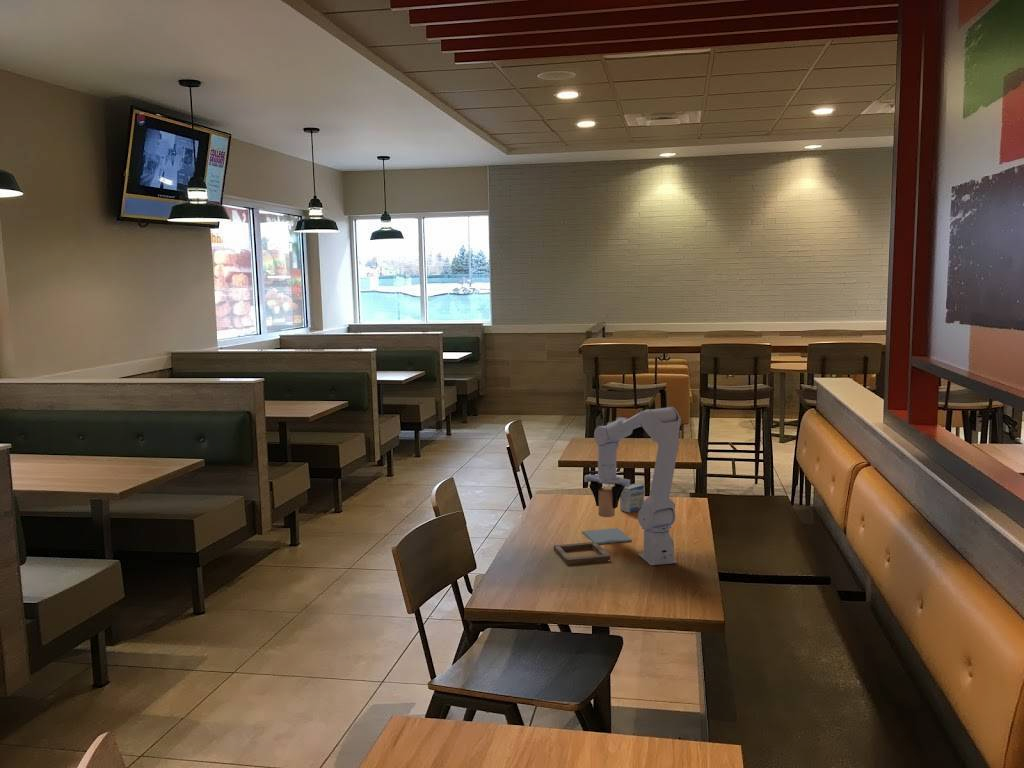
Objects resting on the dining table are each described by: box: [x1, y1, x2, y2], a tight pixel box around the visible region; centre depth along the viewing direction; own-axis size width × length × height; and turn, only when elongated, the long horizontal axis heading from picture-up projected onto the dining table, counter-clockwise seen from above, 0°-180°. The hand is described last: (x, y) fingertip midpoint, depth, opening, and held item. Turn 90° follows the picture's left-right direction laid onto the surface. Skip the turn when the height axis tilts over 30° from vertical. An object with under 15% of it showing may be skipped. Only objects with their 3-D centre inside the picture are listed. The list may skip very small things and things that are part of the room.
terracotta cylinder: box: [597, 487, 616, 518], centre depth 254 cm, size 5×5×8 cm
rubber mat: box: [581, 527, 633, 545], centre depth 256 cm, size 12×12×1 cm
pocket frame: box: [553, 541, 611, 566], centre depth 239 cm, size 13×13×2 cm
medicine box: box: [619, 483, 645, 514], centre depth 285 cm, size 8×4×9 cm, turn 131°
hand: (606, 506), depth 254 cm, fingers closed on terracotta cylinder, 5 cm apart
